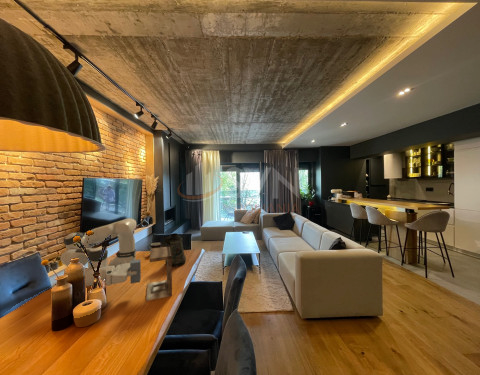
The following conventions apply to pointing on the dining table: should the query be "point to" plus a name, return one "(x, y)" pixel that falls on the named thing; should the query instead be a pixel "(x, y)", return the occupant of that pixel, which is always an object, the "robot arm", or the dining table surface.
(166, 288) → the overhang shelf
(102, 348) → the dining table surface
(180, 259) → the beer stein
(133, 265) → the grey upright block
